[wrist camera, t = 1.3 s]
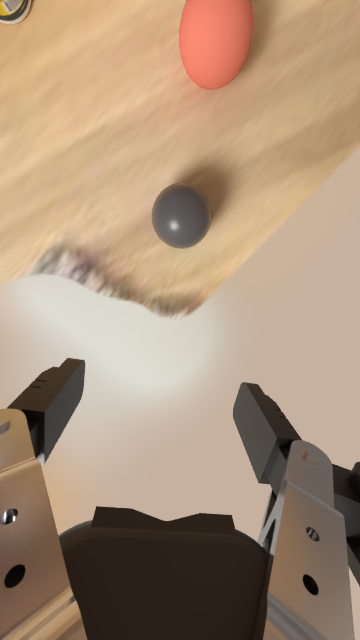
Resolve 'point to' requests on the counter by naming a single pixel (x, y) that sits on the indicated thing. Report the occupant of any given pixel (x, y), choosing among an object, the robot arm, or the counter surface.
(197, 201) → the dark gray ball
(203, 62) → the red ball
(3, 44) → the counter surface
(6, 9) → the supplement bottle
